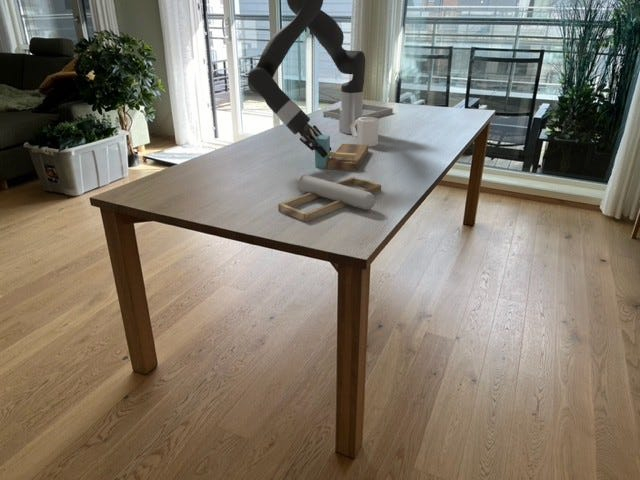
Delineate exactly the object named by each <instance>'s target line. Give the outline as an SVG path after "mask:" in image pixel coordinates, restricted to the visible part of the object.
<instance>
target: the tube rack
mask: <svg viewBox="0 0 640 480" xmlns="http://www.w3.org/2000/svg"><path fill="white" fill-rule="evenodd" d="M336 183H337V184H341V185H345V186H348V187H352V186H353V185H355V186H358V187H361V188H364V189H362V190H363V191H367V192H370V193H371V194H373V195H375V194H377V193H378V194H379V192H381V191H382V184H381V183H376V182H373V181H369V180H366V179H362V178H359V177H356V176H352V177H349V178H347V179H344V180H341V181H338V182H336ZM319 198H321V196H318V195H316V194H315V193H313V192H310V193H307V192H306V193H305V194H303V195H302V194H301V195H299V196H297V197H294V198H291V199H289V200H286V201H282V202H280V203H278V206H277V208H278V212H280V213H283V214H285V215H288V216H290V217H293V218H296V219H298V220H300V221H303V222H305V223H307V222H310V221H312V220H315V219H317V218H319V217H323V216H325V215H327V214H330V213H332V212H335V211H336V210H339V209H341V208H344V207H346V206H349V205H348V204H345V203H344V202H342V201H341V200H337V201H332V202H331V203H328V204H325V205H323V206H320V207H318V208H316V209H313V210H310V211H308V212H305V211H302V210H300V209H297V208H295V207H297V206H301V205H303V204H305V203H309V202H310V201H313V200H316V199H319Z"/></svg>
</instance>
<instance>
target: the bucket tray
mask: <svg viewBox="0 0 640 480" xmlns="http://www.w3.org/2000/svg"><path fill="white" fill-rule="evenodd" d="M340 109H341V107H338V108H334V109H329V110H328V109H327V110H324V111H322V113H323V115H322V116H327V117H326V118H328V117H331V118H330V119H333V118H335V120H339V114H337V113H339V110H340ZM363 110H369V111H373V112H369V113H366V114H362V117H375V118H379V117H383V116H387V115H391V114H393V112H394V109H393V107H387V106H381V105H375V104H370V103H369V104H367V103H363Z"/></svg>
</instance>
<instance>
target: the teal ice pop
mask: <svg viewBox="0 0 640 480" xmlns="http://www.w3.org/2000/svg"><path fill="white" fill-rule="evenodd" d="M316 138H317V142H318V143H319V144H320V146H322V147H323V149H324V150H325V151H326V152H327V153H328V154H327V156H325V157H324V158H323V157H322V156H321V155H320V154H319V153H318V152H317V151H316V150H314V160H315V161H314V163H315V164H314V165H315V168H319V169H320V168H322V169H327V162H328V160H329V159H330V158H331V157H342V158H352V159H353V158H355V157H356V154H354V153H337V152H336V151H335V152H334V151H333V152H332V151H330V147H331V140H330V139H331V136H330V135H326V134H325V135H324V134H323V135H320V136H317V137H316Z"/></svg>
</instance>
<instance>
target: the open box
mask: <svg viewBox="0 0 640 480" xmlns="http://www.w3.org/2000/svg"><path fill="white" fill-rule="evenodd" d="M335 152H337V153H354V154H356V157H355V158H353V159H352V158H342V157H330V159H329V160H328V162H327V168H326V169H327V170H339V171H354V172H356V171H357V170H358V169H359V167H360V166H361V164H362V162H363V161H364V159H365V157H366V156H367V154H368V152H369V146H368V145H358V144H357V143H356V144H354V143H342V144H341V145H340V146H339V147H338V148H337V150H336V151H335Z"/></svg>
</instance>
